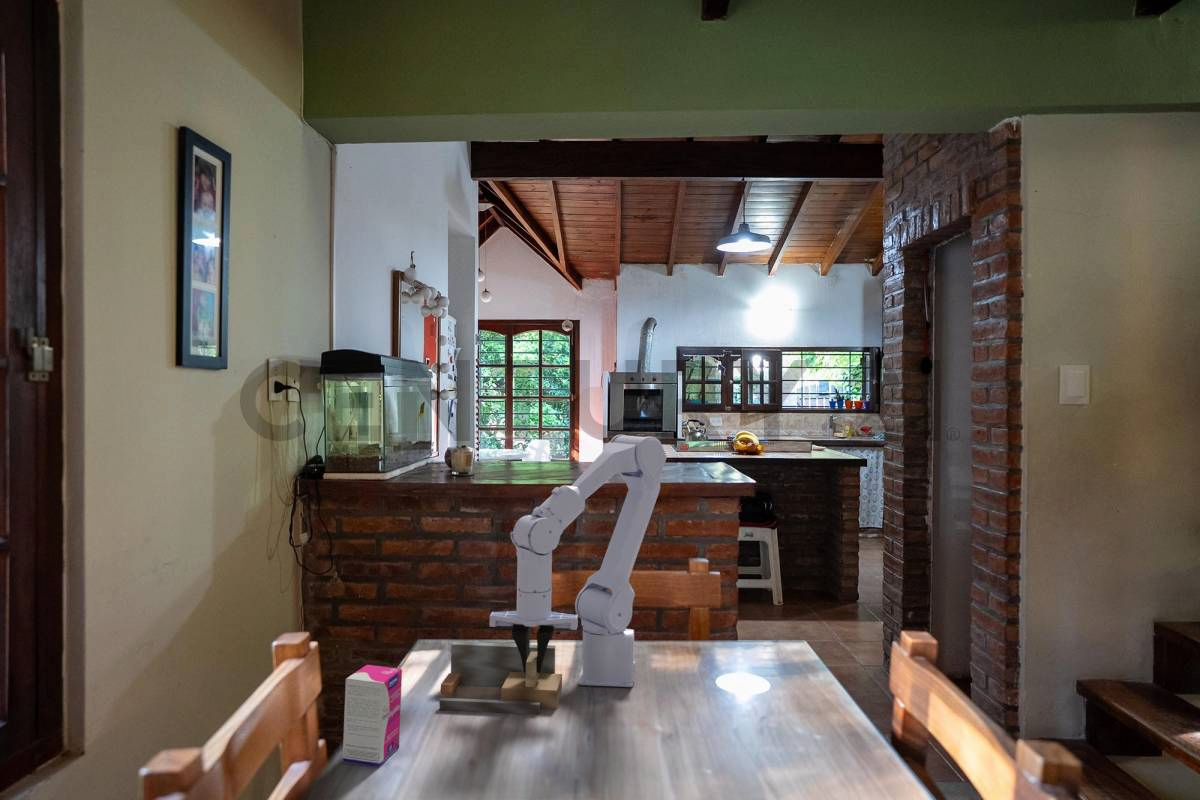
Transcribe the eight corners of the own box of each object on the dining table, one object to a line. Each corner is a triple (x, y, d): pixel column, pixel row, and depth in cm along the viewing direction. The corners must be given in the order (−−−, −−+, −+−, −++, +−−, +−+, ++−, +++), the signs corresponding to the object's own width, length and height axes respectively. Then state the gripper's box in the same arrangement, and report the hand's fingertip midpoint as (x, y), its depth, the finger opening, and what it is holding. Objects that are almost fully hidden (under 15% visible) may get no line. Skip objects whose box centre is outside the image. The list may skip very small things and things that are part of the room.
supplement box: (381, 768, 96) (382, 682, 97) (341, 763, 98) (342, 678, 98) (401, 747, 102) (402, 667, 102) (363, 743, 103) (364, 663, 103)
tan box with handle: (561, 691, 123) (562, 650, 123) (556, 709, 116) (557, 665, 116) (509, 689, 123) (510, 648, 123) (501, 706, 116) (501, 663, 116)
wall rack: (554, 685, 125) (555, 645, 125) (545, 714, 114) (545, 670, 114) (451, 681, 126) (451, 641, 126) (431, 709, 115) (432, 665, 115)
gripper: (485, 593, 116) (484, 677, 116) (575, 596, 115) (573, 681, 115) (495, 582, 123) (494, 661, 123) (579, 585, 122) (578, 665, 122)
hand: (533, 670), depth 120 cm, fingers closed on tan box with handle
